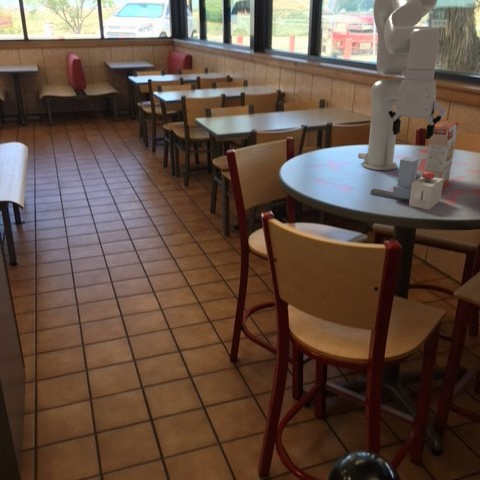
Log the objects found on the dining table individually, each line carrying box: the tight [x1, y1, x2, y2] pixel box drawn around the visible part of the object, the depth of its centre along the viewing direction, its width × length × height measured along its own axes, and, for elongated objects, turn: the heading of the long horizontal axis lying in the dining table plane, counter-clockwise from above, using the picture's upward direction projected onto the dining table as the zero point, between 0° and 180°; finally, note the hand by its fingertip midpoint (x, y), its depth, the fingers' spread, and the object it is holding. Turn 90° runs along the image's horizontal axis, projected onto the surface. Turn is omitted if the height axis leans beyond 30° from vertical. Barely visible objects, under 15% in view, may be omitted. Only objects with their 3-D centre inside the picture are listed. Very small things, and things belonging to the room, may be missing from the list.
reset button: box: [421, 170, 435, 183], centre depth 151 cm, size 3×3×3 cm
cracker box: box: [424, 119, 460, 190], centre depth 166 cm, size 14×6×21 cm, turn 148°
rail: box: [369, 188, 410, 202], centre depth 160 cm, size 14×2×1 cm, turn 52°
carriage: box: [392, 157, 419, 199], centre depth 155 cm, size 5×7×11 cm
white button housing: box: [408, 176, 444, 210], centre depth 153 cm, size 6×10×7 cm, turn 142°
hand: (412, 136), depth 151 cm, fingers open, 9 cm apart
